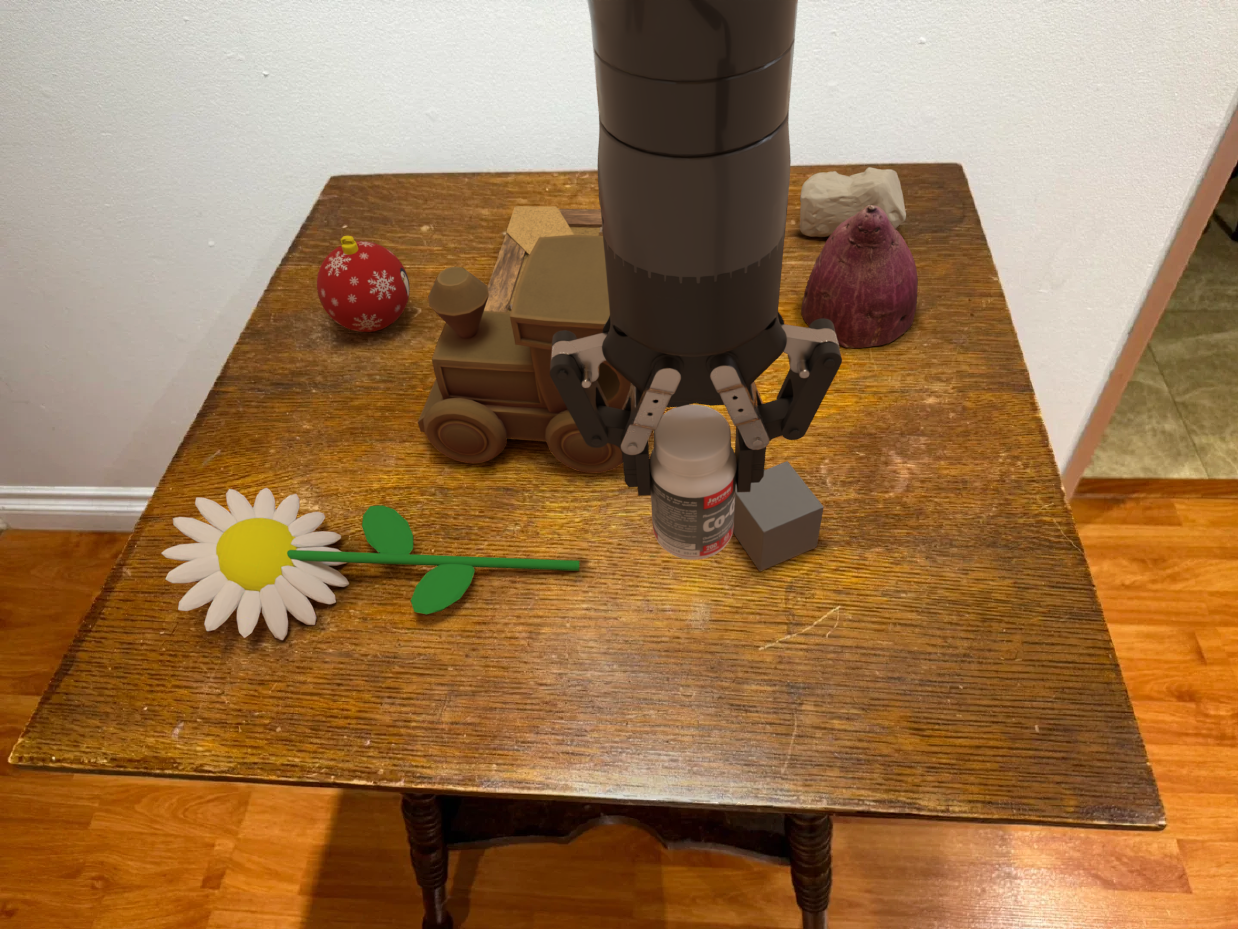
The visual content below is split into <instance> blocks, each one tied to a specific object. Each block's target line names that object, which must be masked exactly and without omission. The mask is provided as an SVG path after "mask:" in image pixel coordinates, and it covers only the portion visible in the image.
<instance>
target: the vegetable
mask: <svg viewBox="0 0 1238 929" xmlns="http://www.w3.org/2000/svg"><path fill="white" fill-rule="evenodd" d="M918 280H919V279H918V270H917V265H916V261H915V259H914V256H913V254H912V252H911V250H910V248H909V247H908V244H907V243H906V241H905V239H904V238H903V235H901V233H900V232H899V231H898V229H897V228H896V229H895V228H894V227H893V226H892V224H891V223H890V221H889V219H888V217H887V215H886V213H885V212H884V211H883V210H882V209H881V208H880V207H878V206H872V205H868V206H867V207H865V208H864V209H862V210H861V211H859V212H858V213H857V214H855V215H854V216H852V217H850V218H848V219H847V220H846V221H844V222H842V223H841V224H840V225H839V226H838V227H837V228H836V229H835V230H834V232H833V233H832V234H831V235H830V236H828V238H827V240H826V241H825V243H824V245H823V247H822V248H821V251H820V253H819V254H818V256H817V257H816V259H815V261H814V264H813V267H812V269H811V272H810V274H809V276H808V280H807V282H806V283H807V284H806V286H805V289H804V294H803V298H802V304H801V309H800V310H801V311H800V314H801V316H802V320H803V322H805V323H806V324H807V326H808V327H809V326H810V324H811V323H812V322H813V321H815V320H817V319H822V318H825V319H829V320H830V321H832V322H833V325H834V329H835V333H836V335H837V340H838V344H839V346H841V347H843V348H851V349H857V348H858V349H863V348H868V347H869V348H871V347H877V346H883V345H886V344H890V343H892V342H894V341H896V340H897V339H899V337H901V336H903V334H904V333H905V332H907V331H908V330H909V329H910V328H912V325H913V323H914V320H915V314H916V309H917V303H918V302H917V301H918V288H919V287H918V286H919V285H918V284H919V282H918Z"/></svg>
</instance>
